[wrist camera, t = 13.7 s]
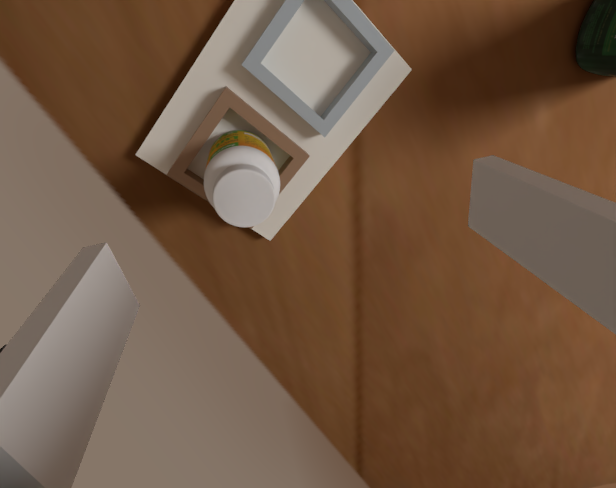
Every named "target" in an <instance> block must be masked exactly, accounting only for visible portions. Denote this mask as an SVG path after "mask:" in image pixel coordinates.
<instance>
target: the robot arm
mask: <svg viewBox="0 0 616 488" xmlns="http://www.w3.org/2000/svg"><path fill="white" fill-rule="evenodd" d="M468 226H469V227H470V228H471V229H473V230H474V231H475V232H477V233H478V234H480V235H481V236H482V237H484V238H485V239H486V240H488V241H489V242H490V243H492V244H493V245H495V246H496V247H497V248H499V249H500V250H501V251H503V252H504V253H505V254H507V255H508V256H510V257H511V258H512V259H514V260H515V261H516V262H518V263H519V264H520V265H522V266H523V267H525V268H526V269H527V270H529V271H530V272H531V273H533V274H534V275H535V276H537V277H538V278H540V279H541V280H542V281H544V282H545V283H546V284H548V285H549V286H550V287H552V288H553V289H555V290H556V291H557V292H559V293H560V294H561V295H563V296H564V297H565V298H567V299H568V300H570V301H571V302H572V303H574V304H575V305H576V306H578V307H579V308H580V309H582V310H583V311H585V312H586V313H587V314H589V315H590V316H591V317H593V318H594V319H595V320H597V321H598V322H600V323H601V324H602V325H604V326H605V327H606V328H608V329H609V330H611V331H612V332H613V333H615V334H616V203H615V202H612V201H609V200H607V199H604V198H602V197H599V196H597V195H594V194H591V193H589V192H586V191H584V190H581V189H579V188H576V187H573V186H571V185H568V184H566V183H563V182H561V181H558V180H555V179H553V178H550V177H548V176H545V175H543V174H540V173H537V172H535V171H532V170H530V169H527V168H524V167H522V166H519V165H517V164H514V163H512V162H509V161H506V160H504V159H501V158H499V157H496V156H494V155H492V156H488V157H483V158H479V159H474V160H473V173H472V185H471V197H470V209H469V221H468ZM139 307H140V304H139V303H138V301H137V299H136V297H135V295H134V294H133V291H132V289H131V287H130V286H129V284H128V282H127V280H126V278H125V276H124V274H123V272H122V270H121V268H120V267H119V265H118V263H117V261H116V259H115V257H114V255H113V253H112V251H111V250H110V248H109V246H108V244H107V242H106V243H101V244H96V245H92V246H88V247H83V248H82V250H81V251H80V252H79V253H78V255H77V256H76V257H75V259H74V260H73V261H72V262H71V264H70V265H69V266H68V267H67V269H66V270H65V271H64V273H63V274H62V275H61V276H60V278H59V279H58V280H57V281H56V283H55V284H54V285H53V287H52V288H51V289H50V290H49V292H48V293H47V294H46V295H45V297H44V298H43V299H42V301H41V302H40V303H39V304H38V306H37V307H36V308H35V310H34V311H33V312H32V313H31V315H30V316H29V317H28V318H27V320H26V321H25V322H24V324H23V325H22V326H21V327H20V329H19V330H18V331H17V333H16V334H15V335H14V336H13V338H12V339H11V340H10V341H9V343H8V344H7V345H4V346H3V347H2V348H1V349H0V488H71V487H72V484H73V482H74V479H75V476H76V474H77V471H78V469H79V466H80V463H81V461H82V458H83V455H84V452H85V450H86V447H87V445H88V442H89V439H90V437H91V434H92V431H93V429H94V426H95V423H96V421H97V418H98V416H99V413H100V410H101V408H102V405H103V402H104V400H105V397H106V394H107V391H108V389H109V386H110V384H111V381H112V378H113V375H114V373H115V370H116V368H117V365H118V362H119V360H120V357H121V354H122V352H123V349H124V346H125V344H126V341H127V338H128V336H129V333H130V330H131V328H132V325H133V323H134V320H135V317H136V315H137V312H138V309H139Z"/></svg>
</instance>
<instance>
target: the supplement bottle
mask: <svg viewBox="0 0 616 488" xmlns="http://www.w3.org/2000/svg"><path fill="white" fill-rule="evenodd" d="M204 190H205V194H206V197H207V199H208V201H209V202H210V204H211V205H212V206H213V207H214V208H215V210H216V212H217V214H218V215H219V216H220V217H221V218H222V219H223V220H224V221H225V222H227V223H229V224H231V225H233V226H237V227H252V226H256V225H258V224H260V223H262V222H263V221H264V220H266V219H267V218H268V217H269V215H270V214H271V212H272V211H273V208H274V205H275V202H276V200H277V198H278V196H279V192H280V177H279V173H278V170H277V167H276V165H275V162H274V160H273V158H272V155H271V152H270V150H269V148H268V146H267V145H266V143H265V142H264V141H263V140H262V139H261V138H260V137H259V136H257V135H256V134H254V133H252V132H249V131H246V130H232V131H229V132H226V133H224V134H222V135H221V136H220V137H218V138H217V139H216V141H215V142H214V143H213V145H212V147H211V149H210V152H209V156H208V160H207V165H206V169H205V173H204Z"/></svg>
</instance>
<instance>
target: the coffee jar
mask: <svg viewBox="0 0 616 488" xmlns="http://www.w3.org/2000/svg"><path fill="white" fill-rule="evenodd" d="M576 60H577V63H578V65H579V66H580V67H581V68H582V69H583V70H585V71H588V72H591V73H594V74H598V75H604V76H615V77H616V0H594V1H593V3H592V5H591V7H590V8H589V10H588V12H587V14H586V16H585V18H584V21H583V23H582V25H581V29H580V31H579V35H578V39H577V45H576Z"/></svg>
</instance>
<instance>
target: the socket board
mask: <svg viewBox="0 0 616 488" xmlns="http://www.w3.org/2000/svg"><path fill="white" fill-rule="evenodd" d="M411 70H412V69H411V68H410V67H409V66H408V64H407V63H406V62H405V61H404V60H403V59H402V57H401V56H400V55H399V54H398V53H397V52H396V50H395V49H394V48H393V47H392V46H391V45H390V43H389V42H388V41H387V40H386V39H385V38H384V36H383V35H382V34H381V33H380V32H379V31H378V29H377V28H376V27H375V26H374V25H373V24H372V22H371V21H370V20H369V19H368V18H367V17H366V15H365V14H364V13H363V12H362V11H361V10H360V8H359V7H358V6H357V5H356V4H355V3H354V1H353V0H234V2H233V3H232V5H231V7H230V8H229V10H228V11H227V13H226V14H225V16H224V18H223V19H222V21H221V22H220V24H219V25H218V27H217V28H216V30H215V32H214V33H213V35H212V36H211V38H210V39H209V41H208V42H207V44H206V46H205V47H204V49H203V50H202V52H201V53H200V55H199V56H198V58H197V60H196V61H195V63H194V64H193V66H192V67H191V69H190V70H189V72H188V74H187V75H186V77H185V78H184V80H183V81H182V83H181V84H180V86H179V88H178V89H177V91H176V92H175V94H174V95H173V97H172V98H171V100H170V102H169V103H168V105H167V106H166V108H165V109H164V111H163V112H162V114H161V116H160V117H159V119H158V120H157V122H156V123H155V125H154V127H153V128H152V130H151V131H150V133H149V134H148V136H147V137H146V139H145V141H144V142H143V144H142V145H141V147H140V148H139V150H138V151H137V153H136V156H138V157H139V158H141V159H142V160H144V161H145V162H147V163H149V164H150V165H152V166H153V167H155V168H156V169H158V170H160V171H161V172H163V173H164V174H166V175H167V176H168V177H170V178H172V179H173V180H175V181H176V182H178V183H179V184H181V185H183V186H184V187H186V188H187V189H189V190H190V191H192V192H194V193H195V194H197V195H198V196H200V197H201V198H203V199H205V200H206V201H208V199H207V197H206V194H205V190H204V173H205V169H206V165H207V160H208V156H209V152H210V149H211V147H212V145H213V143H214V142H215V141H216V139H217V138H218V137H220V136H221V135H222V134H224V133H226V132H229V131H232V130H246V131H249V132H252V133H254V134H256V135H257V136H259V137H260V138H261V139H262V140H263V141H264V142H265V143H266V145H267V146H268V148H269V150H270V152H271V155H272V158H273V160H274V162H275V165H276V167H277V170H278V173H279V177H280V192H279V196H278V198H277V200H276V202H275V205H274V208H273V211H272V212H271V214H270V215H269V217H268V218H267V219H266V220H264V221H263V222H262V223H260V224H258V225H256V226H252V227H249V228H250V229H252V230H254V231H255V232H257V233H259V234H260V235H262V236H263V237H265V238H266V239H268V240H270V241H271V239H272V238H273V237H274V236H275V234H276V233H277V232H278V231H279V230H280V228H281V227H282V226H283V225H284V224H285V222H286V221H287V220H288V219H289V218H290V216H291V215H292V214H293V213H294V212H295V210H296V209H297V208H298V207H299V206H300V204H301V203H302V202H303V201H304V199H305V198H306V197H307V196H308V195H309V193H310V192H311V191H312V190H313V189H314V187H315V186H316V185H317V184H318V183H319V181H320V180H321V179H322V178H323V177H324V175H325V174H326V173H327V172H328V171H329V169H330V168H331V167H332V166H333V164H334V163H335V162H336V161H337V160H338V158H339V157H340V156H341V155H342V154H343V152H344V151H345V150H346V149H347V148H348V146H349V145H350V144H351V143H352V142H353V140H354V139H355V138H356V137H357V136H358V134H359V133H360V132H361V131H362V129H363V128H364V127H365V126H366V125H367V123H368V122H369V121H370V120H371V119H372V117H373V116H374V115H375V114H376V113H377V111H378V110H379V109H380V108H381V107H382V105H383V104H384V103H385V102H386V101H387V99H388V98H389V97H390V96H391V95H392V93H393V92H394V91H395V90H396V88H397V87H398V86H399V85H400V84H401V82H402V81H403V80H404V79H405V78H406V76H407V75H408V74H409V73H410V72H411ZM208 202H209V201H208ZM209 203H210V202H209Z"/></svg>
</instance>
